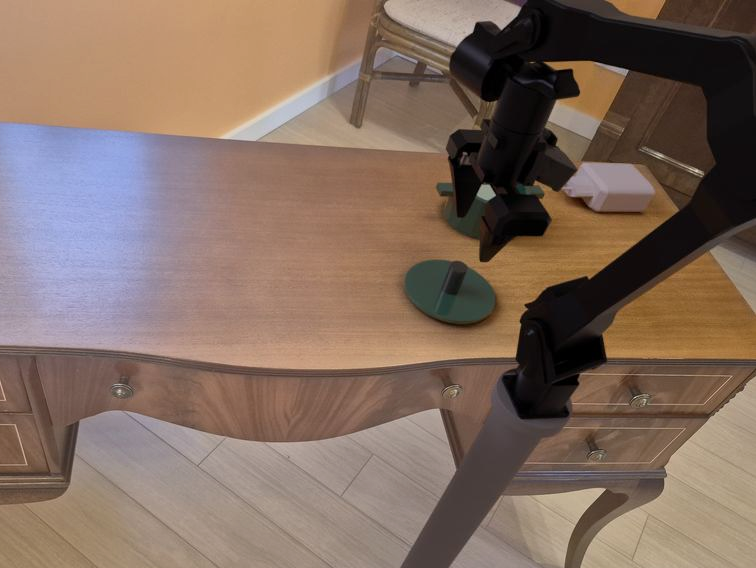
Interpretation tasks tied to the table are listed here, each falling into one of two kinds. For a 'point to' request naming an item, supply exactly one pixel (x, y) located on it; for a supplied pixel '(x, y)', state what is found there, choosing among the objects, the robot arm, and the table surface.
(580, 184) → the charger
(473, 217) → the pot
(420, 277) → the lid
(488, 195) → the block
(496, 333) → the table surface
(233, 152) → the table surface
